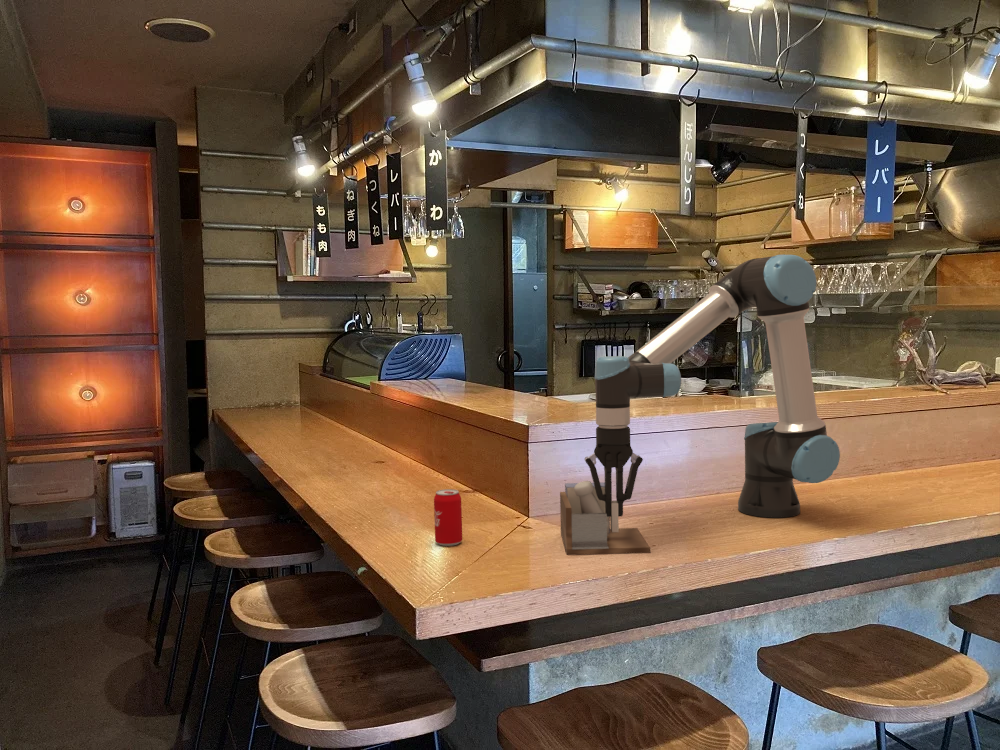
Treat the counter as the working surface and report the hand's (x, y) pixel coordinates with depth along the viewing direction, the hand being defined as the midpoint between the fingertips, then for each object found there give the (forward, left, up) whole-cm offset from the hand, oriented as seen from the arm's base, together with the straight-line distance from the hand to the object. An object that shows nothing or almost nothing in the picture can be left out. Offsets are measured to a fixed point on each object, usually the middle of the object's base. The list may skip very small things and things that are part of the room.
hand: (614, 530), depth 177 cm
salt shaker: (+3, 0, -1) cm, 3 cm away
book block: (+5, -7, -2) cm, 9 cm away
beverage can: (+37, -4, -3) cm, 38 cm away
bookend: (+6, +6, -2) cm, 9 cm away
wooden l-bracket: (+2, -1, -3) cm, 4 cm away
